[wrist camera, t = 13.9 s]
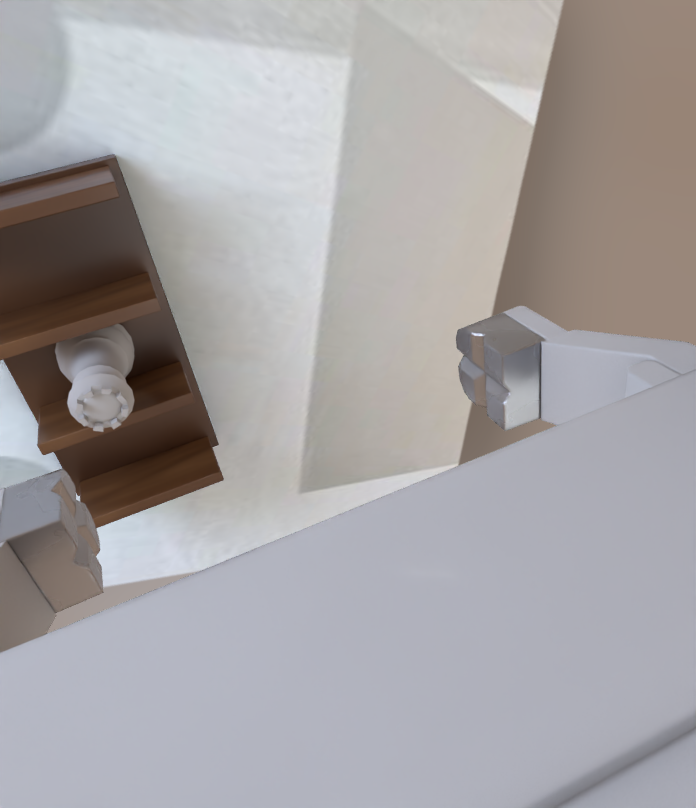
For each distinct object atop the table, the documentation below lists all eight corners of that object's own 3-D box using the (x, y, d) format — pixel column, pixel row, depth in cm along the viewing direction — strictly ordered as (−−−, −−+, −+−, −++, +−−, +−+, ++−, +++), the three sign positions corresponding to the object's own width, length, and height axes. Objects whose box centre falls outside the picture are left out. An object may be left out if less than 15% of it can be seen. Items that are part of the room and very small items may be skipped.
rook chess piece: (144, 328, 39) (161, 386, 33) (117, 389, 40) (128, 456, 34) (70, 301, 37) (73, 358, 30) (44, 366, 38) (41, 435, 32)
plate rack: (-77, 201, 33) (-99, 228, 28) (114, 153, 35) (122, 172, 31) (77, 486, 44) (79, 538, 39) (215, 436, 46) (232, 481, 42)
